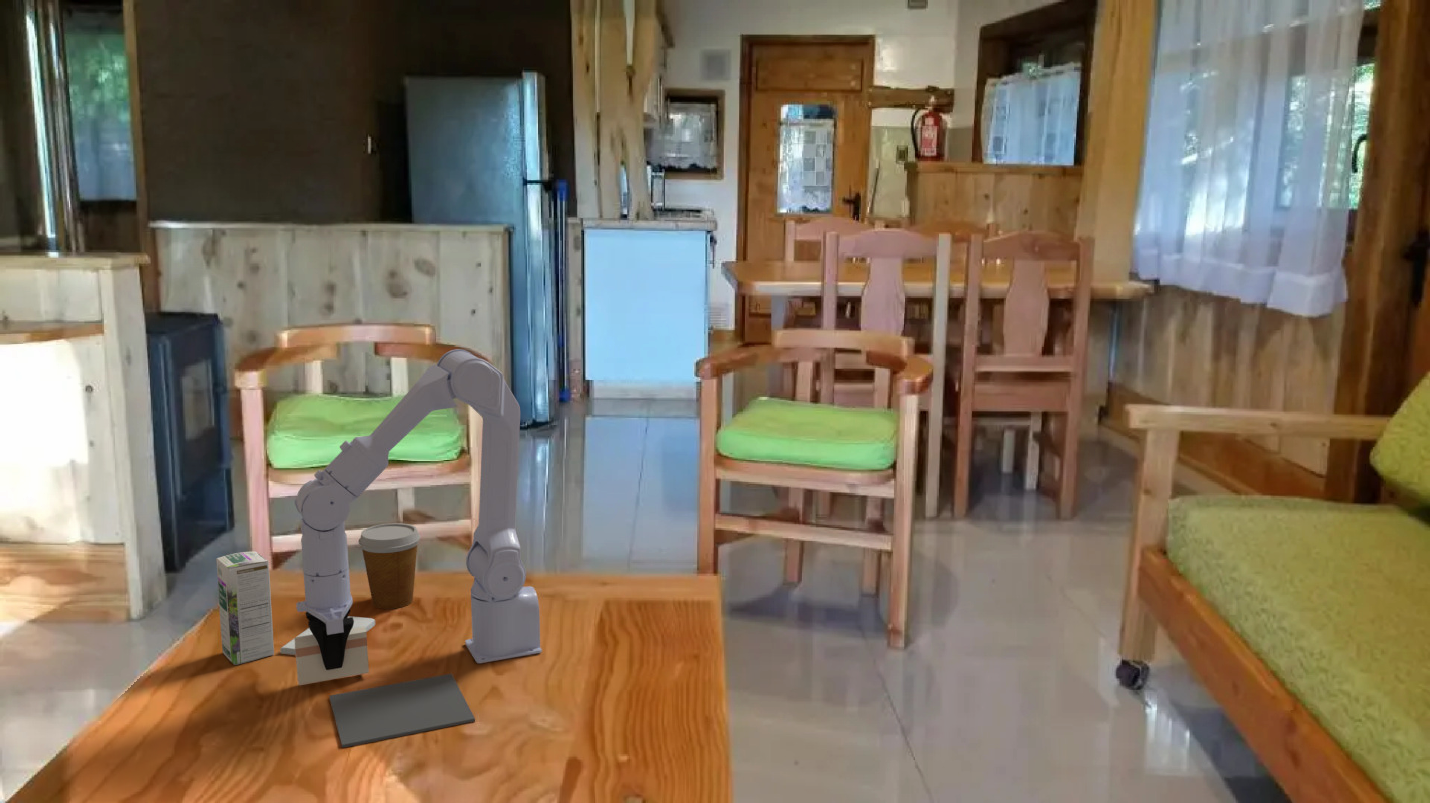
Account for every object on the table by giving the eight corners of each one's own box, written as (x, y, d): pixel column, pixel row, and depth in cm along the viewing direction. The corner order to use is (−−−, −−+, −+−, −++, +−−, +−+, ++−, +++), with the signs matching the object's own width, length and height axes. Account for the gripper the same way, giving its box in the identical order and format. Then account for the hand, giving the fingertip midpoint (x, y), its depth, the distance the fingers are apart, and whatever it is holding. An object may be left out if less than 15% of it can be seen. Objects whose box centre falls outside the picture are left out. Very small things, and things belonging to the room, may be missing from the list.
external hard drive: (375, 628, 166) (332, 662, 154) (327, 623, 167) (280, 656, 155) (375, 618, 165) (331, 651, 153) (326, 613, 167) (279, 646, 155)
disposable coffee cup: (368, 592, 179) (364, 522, 176) (427, 590, 180) (424, 521, 177) (356, 614, 169) (352, 541, 167) (418, 612, 170) (414, 540, 168)
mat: (451, 676, 148) (451, 673, 148) (475, 721, 136) (474, 718, 136) (329, 698, 142) (329, 695, 142) (342, 747, 129) (342, 744, 129)
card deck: (366, 666, 149) (364, 626, 148) (369, 672, 147) (366, 631, 146) (297, 679, 145) (294, 637, 144) (298, 685, 144) (295, 643, 142)
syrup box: (221, 653, 155) (212, 557, 152) (263, 642, 159) (256, 548, 156) (233, 666, 151) (225, 568, 148) (276, 655, 154) (269, 559, 152)
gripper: (289, 556, 148) (296, 648, 151) (298, 592, 135) (306, 692, 138) (343, 549, 151) (349, 639, 154) (357, 583, 138) (363, 681, 141)
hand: (332, 664), depth 146 cm, fingers closed on card deck, 2 cm apart
